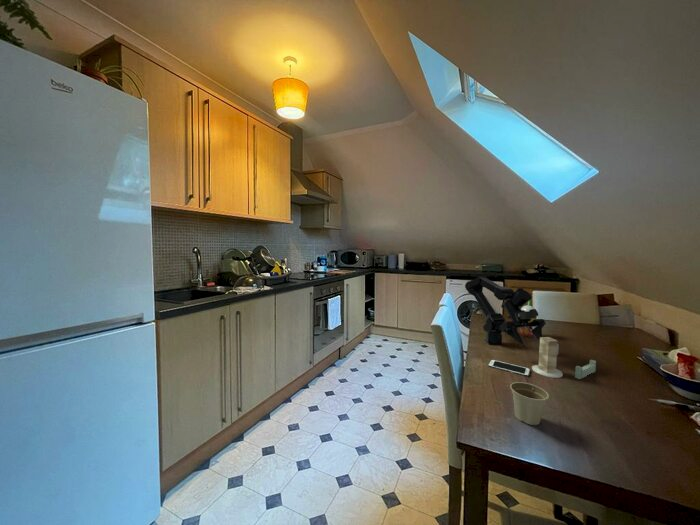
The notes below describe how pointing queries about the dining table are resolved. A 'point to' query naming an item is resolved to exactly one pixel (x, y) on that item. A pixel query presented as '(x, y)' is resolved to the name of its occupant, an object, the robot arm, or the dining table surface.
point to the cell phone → (509, 367)
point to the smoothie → (526, 330)
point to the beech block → (547, 354)
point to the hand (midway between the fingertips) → (532, 343)
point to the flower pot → (528, 402)
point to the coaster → (552, 375)
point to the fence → (585, 370)
